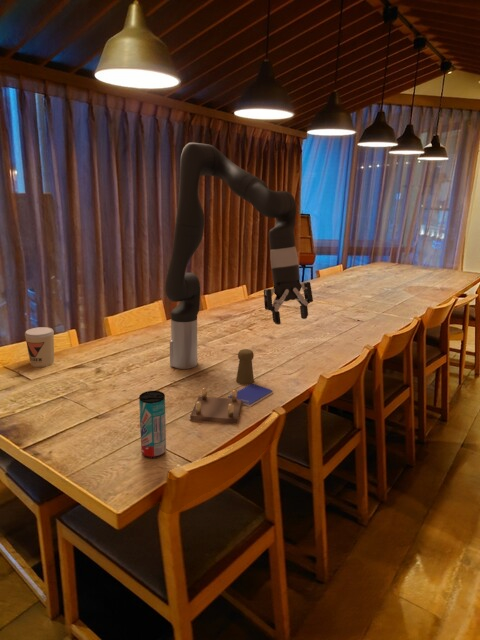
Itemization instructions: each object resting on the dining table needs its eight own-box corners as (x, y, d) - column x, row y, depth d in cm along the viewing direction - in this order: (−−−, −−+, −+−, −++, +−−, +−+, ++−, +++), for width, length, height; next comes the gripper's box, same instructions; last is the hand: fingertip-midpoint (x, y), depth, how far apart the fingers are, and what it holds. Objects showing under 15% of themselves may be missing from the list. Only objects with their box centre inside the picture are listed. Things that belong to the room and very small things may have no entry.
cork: (233, 379, 152) (233, 348, 149) (249, 376, 154) (250, 346, 151) (240, 386, 147) (241, 354, 144) (256, 383, 149) (258, 352, 146)
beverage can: (145, 444, 112) (143, 389, 108) (168, 446, 112) (167, 391, 108) (138, 458, 107) (135, 400, 102) (162, 460, 106) (161, 402, 102)
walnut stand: (190, 420, 124) (190, 404, 123) (198, 400, 136) (198, 385, 134) (237, 424, 123) (237, 407, 122) (241, 403, 135) (241, 388, 133)
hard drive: (249, 403, 133) (272, 390, 142) (227, 395, 137) (251, 382, 147) (249, 408, 133) (272, 394, 143) (227, 400, 138) (251, 387, 147)
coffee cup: (22, 365, 158) (18, 332, 155) (41, 356, 167) (38, 325, 163) (43, 369, 155) (39, 336, 152) (62, 360, 164) (59, 328, 160)
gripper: (300, 261, 132) (306, 315, 134) (256, 268, 127) (263, 324, 129) (313, 260, 125) (319, 318, 127) (267, 268, 120) (274, 327, 122)
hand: (291, 321), depth 128 cm, fingers open, 8 cm apart
